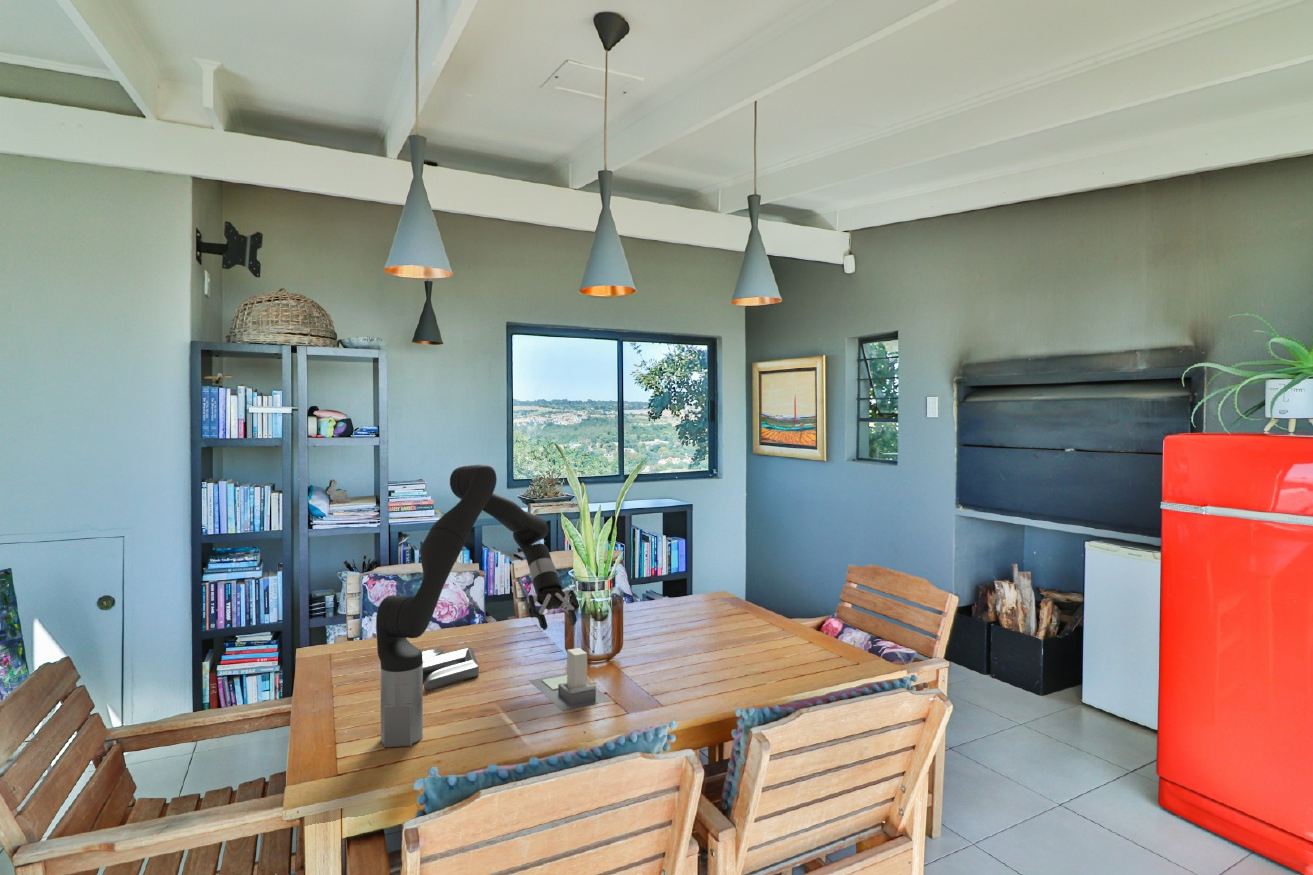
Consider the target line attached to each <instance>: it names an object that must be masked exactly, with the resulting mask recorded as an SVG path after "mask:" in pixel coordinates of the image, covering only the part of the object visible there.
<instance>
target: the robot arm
mask: <svg viewBox="0 0 1313 875" xmlns="http://www.w3.org/2000/svg"><path fill="white" fill-rule="evenodd" d="M449 486H450V490H451V491H452V494H453V495H454V496H455V497H457V498H458V499H460V500H459V502H457V503H456V505H455V506H453V507H452V508H451V509H450V510H448V511H447V512H446V513H445V514H443V515H442V516H440V518H439V519H438V520H436V522H435V523H434V524H433V525H432V526H431V528H430V530H429V531H428V533H427V534H426V537H425V539H424V541H423V542H422V544H421V547H420V561H421V562H420V563H421V567H422V573H423V574H422V575H423V577H422V581H421V583H420V586H419V588H418V590H417V592H416V594H414V596H408V595H407V596H406V595H395V594H393V595H388V596H386V597H384V598H383V599H382V600H381V601H380V603H379V605H378V608H377V610H376V619H375V620H376V621H375V629H376V630H375V631H376V645H377V647H376V648H377V649H376V650H377V656H378V659H379V661H380V742H381V744H383V748H393V747H394V748H396V747H412V746H413V744H414V743H417V742H418V741H420V740H421V739H422V738H423V734H424V733H423V731H424V730H423V728H424V727H423V726H424V724H423V723H424V722H423V721H424V719H423V717H424V716H423V710H424V709H423V702H424V700H423V696H424V695H423V693H424V692H423V690H424V689H423V688H424V684H423V682H424V681H423V655H422V652H423V651H422V650H421V649H419V648H418V647H416V646H415V645H413V644H412V643H411V642H410V641H409V640H408V639H418V638H419V637H422V635H423V634H424V633H425V632H426V630H427V629H428V627H429V625H430V622H431V620H432V618H433V615H434V613H435V610H436V607H437V604H438V602H439V600H440V597H441V593H442V591H443V589H444V586H445V584H446V582H447V580H448V578H449V575H450V573H451V571H452V569H453V567H454V566H455V564H456V561H457V560H458V558H459V556H460V554H461V552H462V550H463V548H464V546H465V543H466V541H467V539H468V537H469V535H470V533H471V530H473V527H474V526H475V523H476V521H477V520H478V518H479V516H480V514H481V513H482V511H483V512H484V513H487V514H488V515H489V516H491V517H492V518H494V519H495V520H496V521H498V522H499V523H500V524H501V525H503V526H504V527H505V528H507V529H508V531H510V532H513V533H512V537H513V540H514V542H515V543H516V545H517V546H518V547H519V548H520V550H521V551H522V553H523V556H525V560H526V563H527V566H528V569H529V575H530V580H531V582H532V586H533V589H534V592H535V596H534V595H533V594H528V597H527V600H526V604H527V608H528V609H527V610H528V613H529V617H530V618H532V619H533V618H535V619H537V620H538V624H539V627H540V629H542V630H543V631H546V630H547V629H548V626H549V625H548V622H547V619H546V616H545V614H544V612H545V610H548V611H550V610H558V609H560V610H561V611H563V612H566V613H567V616H568V619H569V624H570V625H571V627H574V626H575V625H576V624H577V621H578V617H577V616H576V612H577V611H579V610H578V609H579V608H580V603H579V602H578V599H577V596H576V594H575V591H574V590H573V589H570V590H569V591H567V592H565V591H564V590H563V588H562V584H561V581H560V578H559V574H558V572H557V569H556V568H557V567H555V564H554V562H553V560H552V556H551V554H550V550H549V548H548V546H547V545H546V544H545V543H537V542H539V541H541V540H543V539H544V538H545V537H547V535H548V533H549V527H548V523H546V521H545V519H543V518H542V517H540V516H538V515H537V514H534V513H531V512H528V511H526V510H524V509H523V508H522V507H521V506H520V505H518V504H517V503H516V502H515V501H513V500H511V499H509V498H507V497H504V496H502V495H499V494H497V493H494V491H495V489H496V486H497V474H496V471H495V469H494V468H493V466H490V465H488V464H473V465H471V464H470V465H464V466H459V467H457V468H454V470H453V471H452V472H451V475H450V478H449ZM536 602H537V603H538V604H539V605H541V606H540V608H539V611H538V610H537V607H536Z"/></svg>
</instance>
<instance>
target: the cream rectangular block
mask: <svg viewBox="0 0 1313 875" xmlns="http://www.w3.org/2000/svg"><path fill="white" fill-rule="evenodd" d="M566 654H567V655H566V673H567V688H568V689H569V690H570V689H575V688H580V687H585V686H587V682H588V653H587V652H586V651H585V650H583V649H581V648H580V647H577V648H576V647H575V648H569V649H567V650H566Z"/></svg>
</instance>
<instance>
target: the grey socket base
mask: <svg viewBox="0 0 1313 875" xmlns="http://www.w3.org/2000/svg"><path fill="white" fill-rule="evenodd" d="M528 682H529V683H531V684H532V685H533V686H534V687H536V689H537V690H538V691H540V692H541V693H542V694H543V695H544V696H545V697H546V698H548V700H550V701H551V702H552V703H553V704H554V705H556V707H557V708H559V710H561V711H562V712H566V711H569V710H570V711H571V710H574V709H578V708H583V707H584V708H585V707H588V706H593V705H597V704H601V703H607V702H611V701H613V699H612V698H610V697H609V696H607V695H606V694H605V693H604V692H602V691H600V690H599V689H598V688H597V685H596V684H592V683H590V682H589V681H587V686H585V687H580V688H575V689H570V690H569V689H568V688H567V672H566V673H563V674H562V673H561V674H556V675H552V676H546V677H542V678H541V677H540V678H535V679H530V680H529V681H528Z"/></svg>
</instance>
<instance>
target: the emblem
mask: <svg viewBox="0 0 1313 875" xmlns="http://www.w3.org/2000/svg"><path fill="white" fill-rule="evenodd" d="M421 652H422V655H423V682H424V684H423V688H424V689H423V690H426V691H429V692H430V691H434V690H436V689H439V688H442V687H445V686H449V685H452V684H456V683H459V682H463V681H466V680H469V679H473V678H475V677H479V674H480V669H479V664H478V661H477V658H476V655H475V653H474V648H473V647H466V648H462V649H458V650H454V651H448V652H446V653H444V649H442V648H432V649H428V650H424V651H421Z"/></svg>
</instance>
